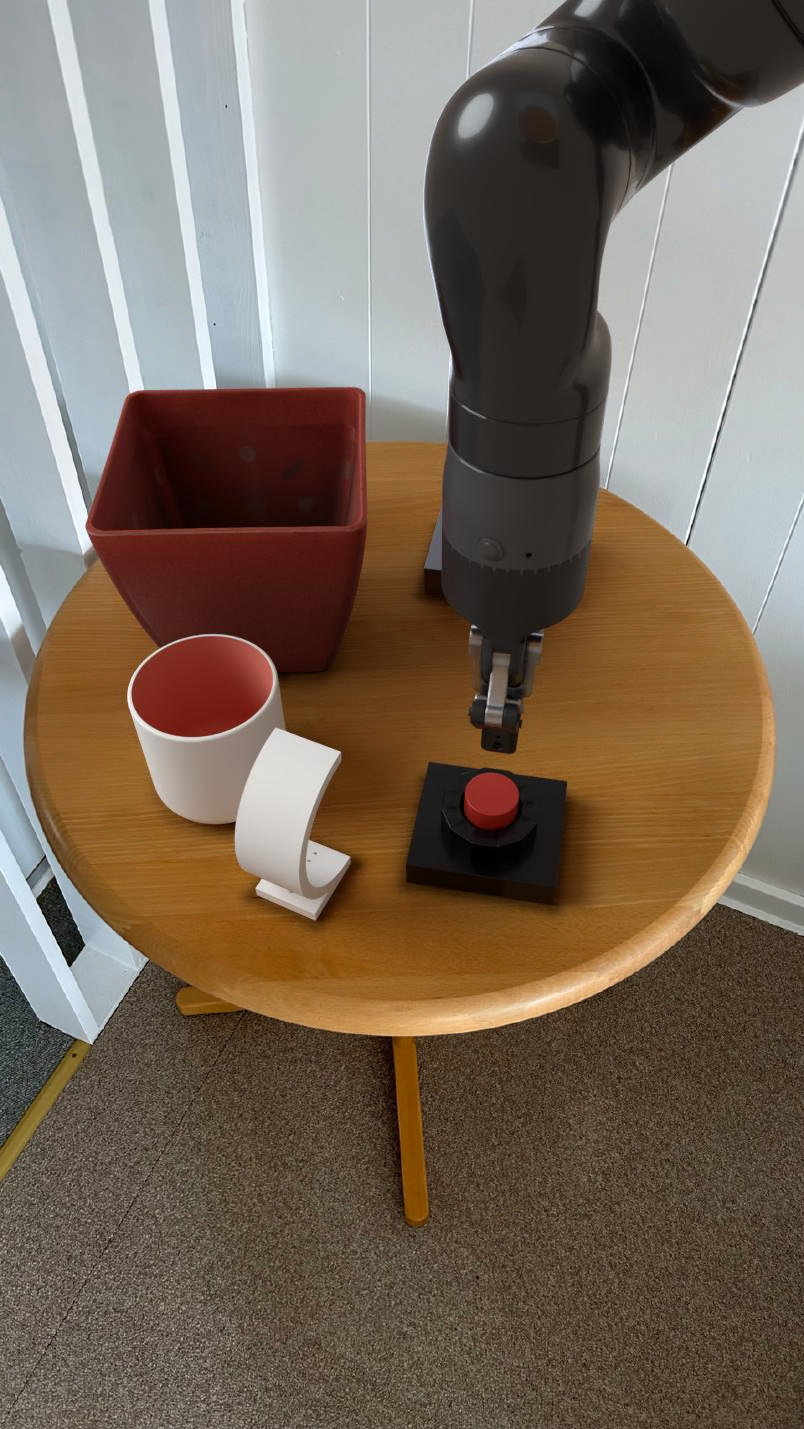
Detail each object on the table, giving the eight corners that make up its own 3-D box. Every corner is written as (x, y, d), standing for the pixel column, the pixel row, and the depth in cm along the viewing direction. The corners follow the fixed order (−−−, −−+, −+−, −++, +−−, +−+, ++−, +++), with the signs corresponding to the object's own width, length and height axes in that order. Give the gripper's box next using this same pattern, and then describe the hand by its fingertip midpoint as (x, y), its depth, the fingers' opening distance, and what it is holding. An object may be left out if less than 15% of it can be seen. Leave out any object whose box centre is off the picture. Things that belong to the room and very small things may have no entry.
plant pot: (372, 550, 90) (366, 382, 78) (375, 699, 77) (367, 527, 65) (167, 555, 90) (127, 388, 77) (135, 706, 77) (80, 535, 64)
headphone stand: (351, 863, 67) (341, 752, 58) (307, 933, 63) (290, 826, 54) (293, 839, 68) (275, 727, 59) (248, 906, 65) (221, 798, 56)
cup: (285, 832, 69) (269, 741, 61) (144, 832, 69) (112, 740, 61) (297, 727, 75) (284, 633, 68) (169, 726, 75) (142, 632, 68)
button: (520, 792, 66) (522, 776, 65) (514, 834, 64) (516, 819, 63) (467, 784, 67) (469, 768, 66) (460, 826, 64) (461, 810, 63)
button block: (563, 799, 70) (570, 764, 67) (553, 905, 64) (560, 872, 61) (428, 780, 72) (429, 745, 69) (405, 882, 66) (405, 848, 63)
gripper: (584, 613, 43) (549, 838, 56) (602, 450, 52) (568, 677, 65) (418, 595, 44) (421, 819, 57) (463, 437, 53) (457, 663, 66)
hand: (499, 743), depth 61 cm, fingers closed
